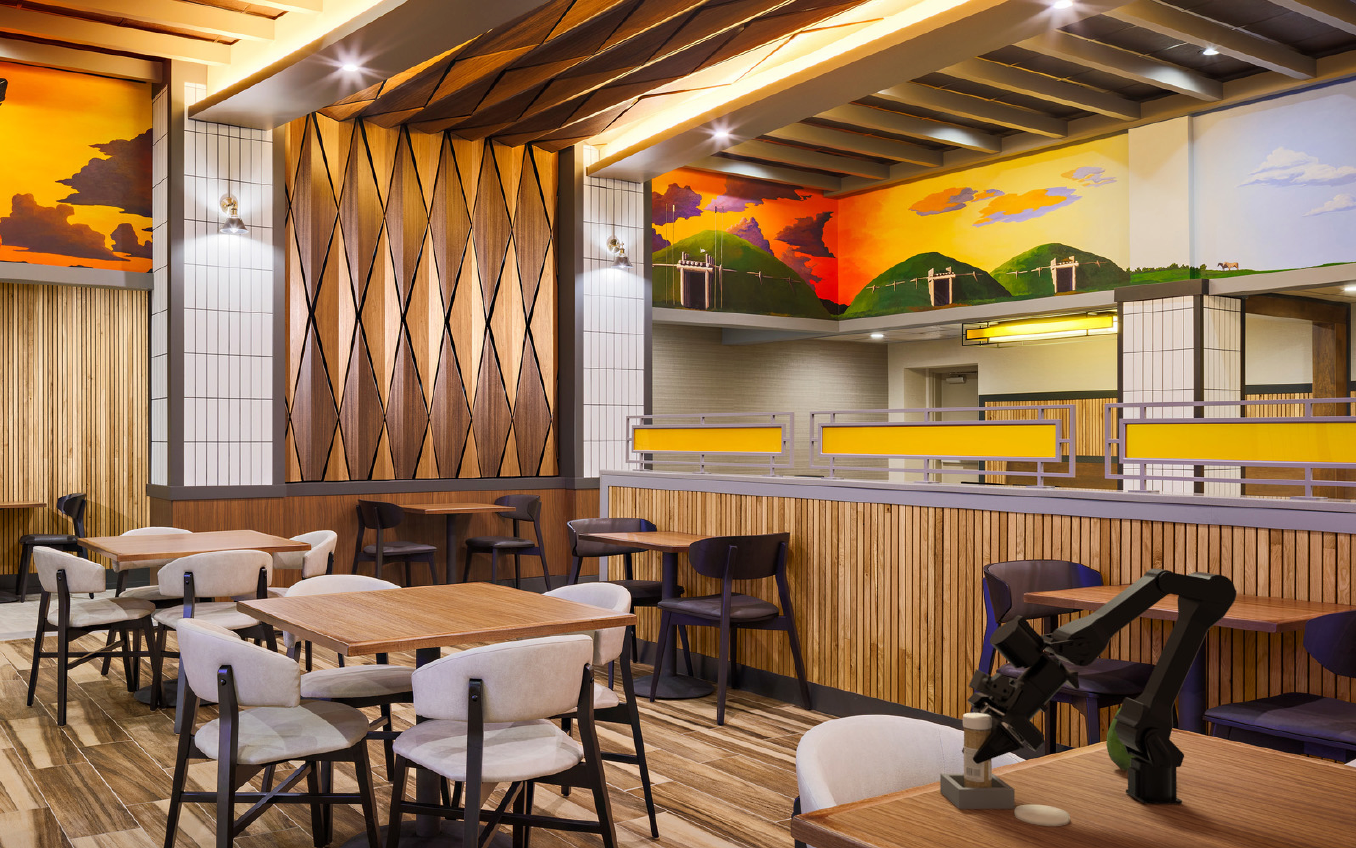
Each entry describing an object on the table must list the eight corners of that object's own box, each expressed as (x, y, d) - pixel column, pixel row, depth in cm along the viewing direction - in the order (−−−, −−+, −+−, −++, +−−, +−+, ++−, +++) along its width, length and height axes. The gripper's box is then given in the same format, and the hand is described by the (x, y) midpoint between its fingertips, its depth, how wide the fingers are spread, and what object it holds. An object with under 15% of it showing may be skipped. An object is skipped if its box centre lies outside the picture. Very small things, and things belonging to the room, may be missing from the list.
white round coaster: (1055, 809, 166) (1055, 804, 166) (1078, 826, 158) (1078, 820, 158) (1006, 809, 165) (1006, 804, 165) (1027, 826, 157) (1027, 820, 157)
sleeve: (993, 792, 175) (993, 773, 175) (1014, 808, 166) (1014, 789, 166) (940, 792, 174) (940, 773, 174) (958, 809, 165) (958, 789, 165)
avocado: (1135, 779, 185) (1135, 709, 185) (1097, 768, 192) (1097, 701, 192) (1164, 773, 189) (1163, 705, 189) (1126, 763, 195) (1125, 697, 196)
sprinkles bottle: (998, 800, 169) (997, 716, 170) (979, 805, 167) (978, 719, 168) (976, 793, 173) (975, 710, 174) (957, 797, 171) (956, 713, 172)
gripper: (978, 644, 181) (916, 710, 179) (1024, 663, 163) (955, 736, 161) (1023, 690, 181) (961, 756, 180) (1073, 714, 163) (1005, 788, 161)
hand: (969, 758), depth 170 cm, fingers closed on sprinkles bottle, 4 cm apart
